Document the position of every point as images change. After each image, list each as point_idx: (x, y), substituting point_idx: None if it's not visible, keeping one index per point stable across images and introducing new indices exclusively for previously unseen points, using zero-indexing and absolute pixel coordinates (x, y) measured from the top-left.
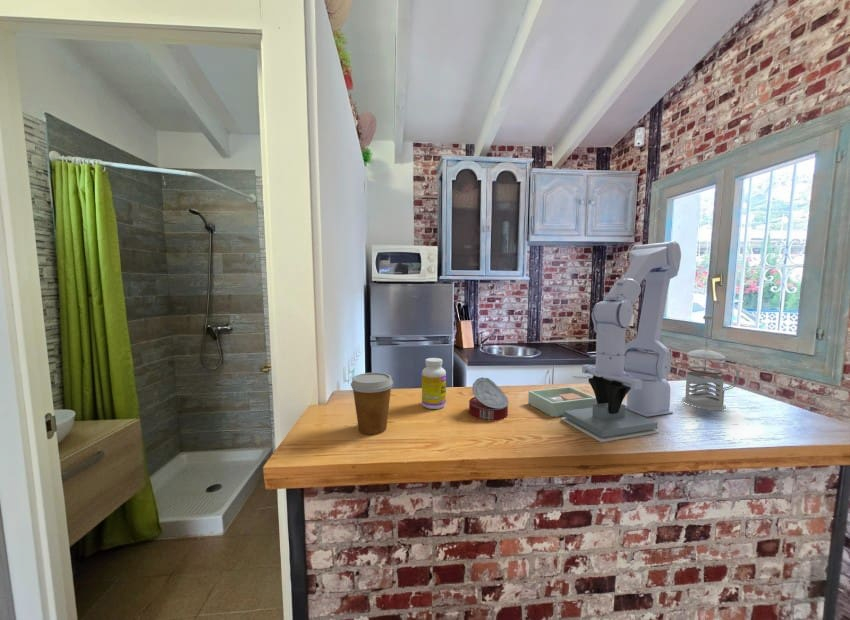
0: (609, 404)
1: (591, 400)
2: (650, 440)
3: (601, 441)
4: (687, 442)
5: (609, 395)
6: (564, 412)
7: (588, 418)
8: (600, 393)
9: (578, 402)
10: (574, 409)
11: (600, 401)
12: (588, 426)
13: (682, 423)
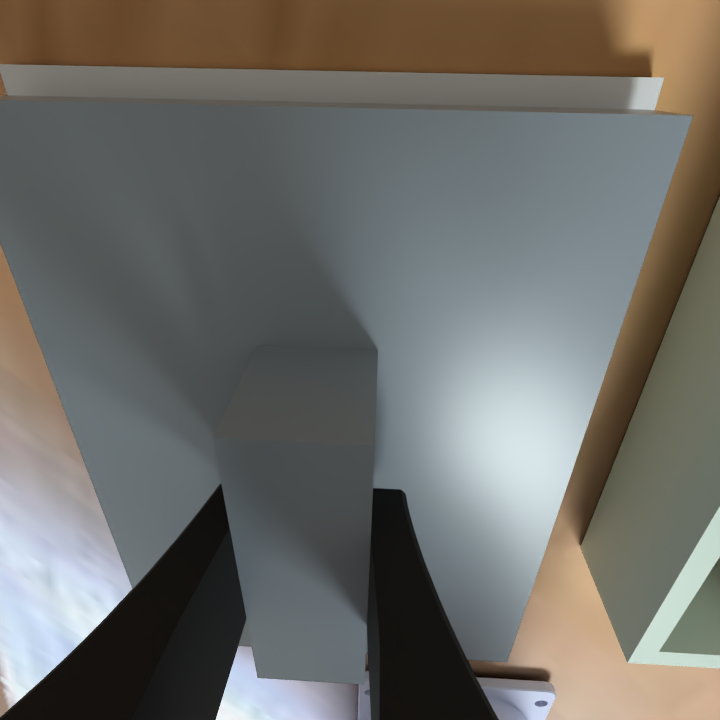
0: (185, 564)
1: (643, 599)
2: (68, 469)
3: (3, 64)
4: (47, 591)
5: (82, 718)
6: (666, 112)
7: (336, 254)
8: (376, 705)
9: (705, 474)
10: (683, 380)
11: (372, 571)
12: (192, 102)
13: (254, 714)
